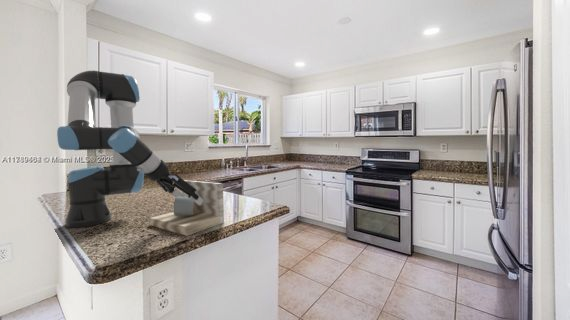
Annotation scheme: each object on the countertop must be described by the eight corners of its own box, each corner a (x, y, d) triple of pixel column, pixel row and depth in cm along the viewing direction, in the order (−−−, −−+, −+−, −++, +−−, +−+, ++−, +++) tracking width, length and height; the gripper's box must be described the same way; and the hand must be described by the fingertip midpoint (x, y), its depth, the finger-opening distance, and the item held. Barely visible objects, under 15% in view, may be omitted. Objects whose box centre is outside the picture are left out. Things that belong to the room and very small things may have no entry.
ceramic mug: (195, 217, 94) (195, 197, 94) (173, 218, 93) (172, 198, 92) (199, 210, 105) (199, 192, 104) (179, 211, 103) (179, 193, 103)
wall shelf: (149, 225, 97) (147, 185, 96) (187, 214, 111) (185, 180, 110) (187, 235, 84) (185, 189, 83) (224, 222, 98) (222, 183, 97)
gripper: (129, 173, 90) (170, 206, 104) (164, 176, 77) (206, 212, 91) (143, 158, 94) (181, 191, 108) (178, 158, 82) (216, 196, 96)
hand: (192, 201), depth 100 cm, fingers open, 10 cm apart
